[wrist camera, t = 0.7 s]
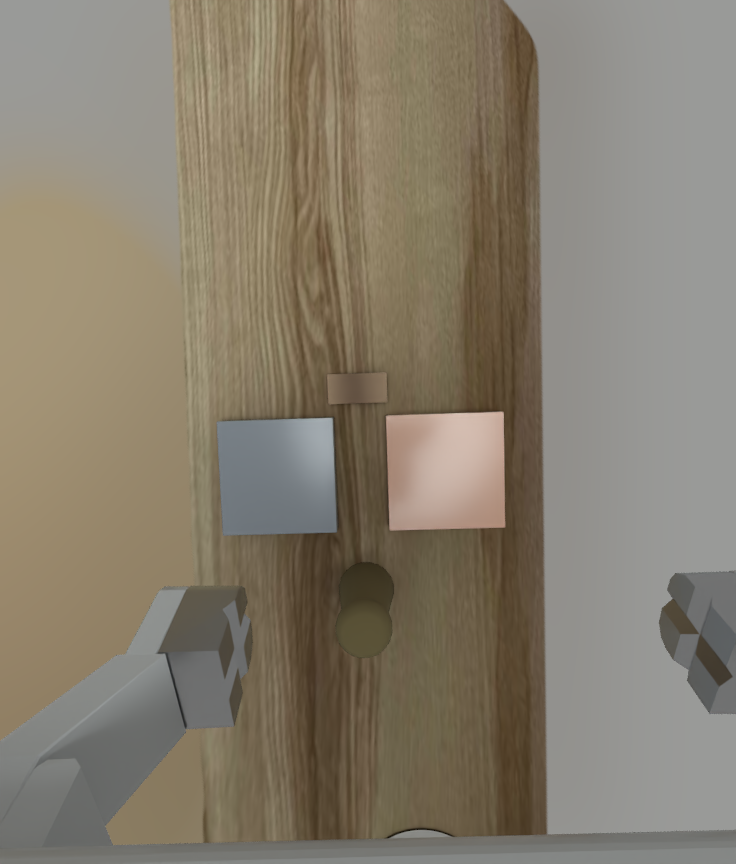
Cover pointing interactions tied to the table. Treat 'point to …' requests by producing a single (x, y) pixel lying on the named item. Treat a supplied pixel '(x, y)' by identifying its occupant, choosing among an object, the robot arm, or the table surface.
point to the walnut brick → (357, 388)
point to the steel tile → (278, 476)
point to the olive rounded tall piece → (365, 610)
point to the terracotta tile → (446, 470)
